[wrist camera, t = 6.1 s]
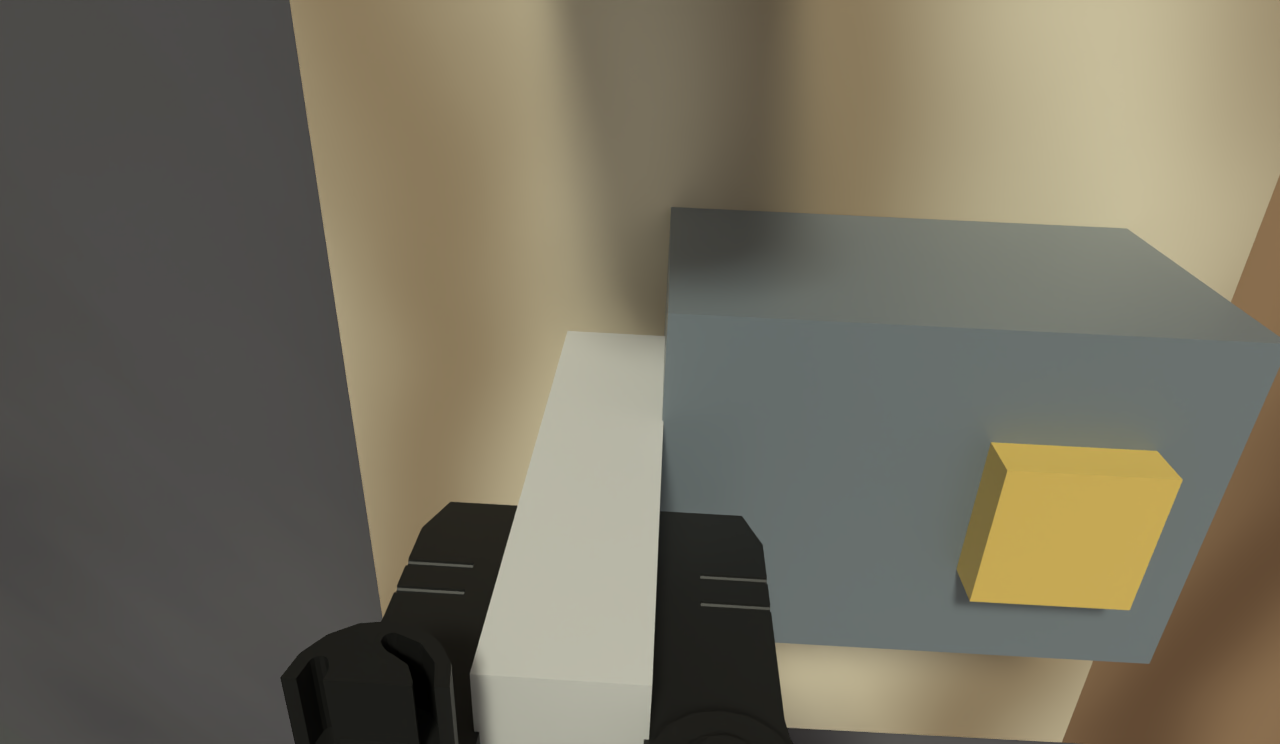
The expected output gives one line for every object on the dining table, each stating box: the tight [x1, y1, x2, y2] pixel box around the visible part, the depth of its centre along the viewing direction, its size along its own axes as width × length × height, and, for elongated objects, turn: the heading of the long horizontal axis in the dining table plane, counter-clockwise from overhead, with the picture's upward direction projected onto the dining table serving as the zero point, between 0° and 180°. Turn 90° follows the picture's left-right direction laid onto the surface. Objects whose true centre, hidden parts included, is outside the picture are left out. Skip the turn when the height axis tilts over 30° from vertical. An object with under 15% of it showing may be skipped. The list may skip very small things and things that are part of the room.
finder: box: [660, 207, 1280, 664], centre depth 12 cm, size 7×5×5 cm
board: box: [290, 0, 1280, 744], centre depth 15 cm, size 24×16×1 cm, turn 88°
